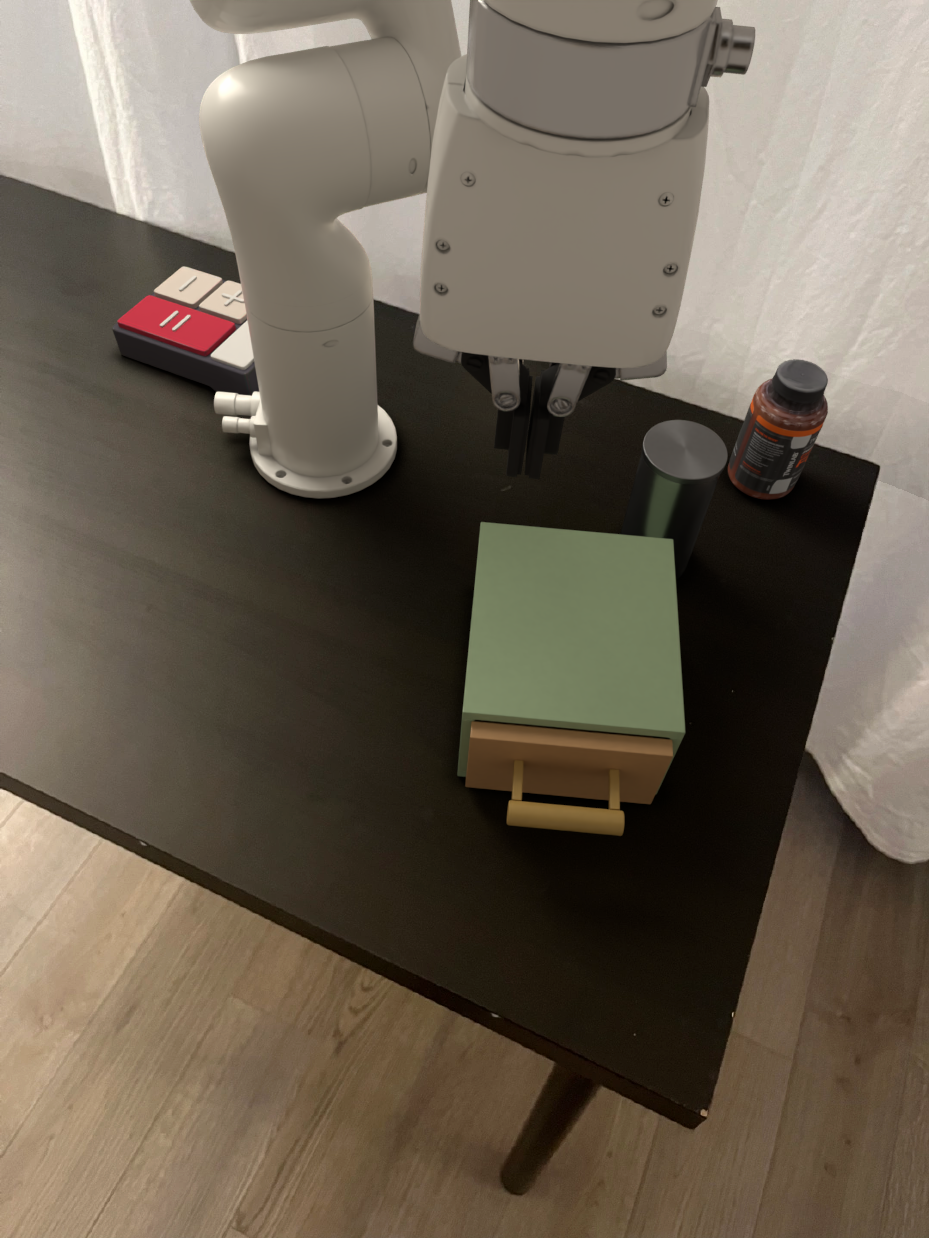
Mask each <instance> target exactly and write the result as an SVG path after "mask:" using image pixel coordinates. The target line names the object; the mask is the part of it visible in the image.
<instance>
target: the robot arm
mask: <svg viewBox="0 0 929 1238" xmlns="http://www.w3.org/2000/svg"><path fill="white" fill-rule="evenodd" d="M189 2H190V4H191V6H192V8H193V10H194V12H195V13H196V14H197V16H198V17H199V18H200V19H201V21H202V22H203V23H204V24H205V25H206V26H208V27H210V29H212V30H215V31H216V32H220V33H224V34H232V35H253V34H254V35H255V34H263V33H271V32H278V31H285V30H291V29H298V28H304V27H310V26H315V25H321V24H327V23H328V24H329V23H334V22H340V21H347V20H352V19H355V20H359V21H360V22H361V23H362V24H363V25H364V27H365V28H366V30H367V32H368V34H369V37H370V39H365V40H360V41H359V40H358V41H352V42H348V43H342V44H337V45H330V46H329V45H324V46H319V47H312V48H307V49H302V50H301V49H300V50H297V51H290V52H285V53H278V54H274V55H272V54H271V55H267V56H262V57H259V58H254V59H251V60H248V61H245V62H242V63H240V64H237V65H235V66H232V67H231V68H228V69H227V70H225V71H224V72H221V74H219V75H218V76H217V77H216V78H214V79H213V81H212V82H210V84H209V85H208V87H207V88H206V90H205V92H203V93H204V94H203V96H202V98H201V100H200V101H201V102H200V105H199V111H198V125H199V126H198V127H199V132H200V138H201V144H202V147H203V150H204V154H205V158H206V161H207V164H208V166H209V170H210V173H211V176H212V179H213V182H214V185H215V188H216V190H217V193H218V196H219V200H220V202H221V205H222V208H223V211H224V215H225V218H226V221H227V225H228V229H229V232H230V233H229V234H230V236H231V241H232V245H233V249H234V250H233V251H234V255H235V258H236V260H235V261H236V265H237V269H238V275H239V280H240V284H241V287H242V293H243V299H244V303H245V309H246V315H247V321H248V327H249V333H250V339H251V345H252V351H253V357H254V363H255V369H256V375H257V381H258V387H259V392H256V391H254V392H253V394H252V396H249V395H239V394H238V393H229V392H216V391H215V395H214V397H213V398H214V399H213V409H214V413H215V414H216V415H221V416H222V421H221V431H222V433H227V434H228V433H229V434H247V435H249V443H248V444H249V450H250V451H249V452H250V456H251V460H252V463H253V466H254V468H255V469H256V470H257V472H258V473H259V475H260V476H261V477H262V478H263V479H264V480H265V481H266V482H267V483H269V484H270V485H271V486H273V487H275V488H276V489H278V490H280V491H283V492H285V493H287V494H290V495H294V496H299V497H301V498H310V499H335V498H338V497H339V498H341V497H344V496H345V497H346V496H348V495H352V494H354V493H358V492H360V491H362V490H365V489H366V488H368V487H370V486H372V485H373V484H375V483H376V482H377V481H379V480H380V479H381V478H382V477H383V476H384V475H385V474H386V473H387V472H388V471H389V470H390V469H391V467H392V464H393V462H394V460H395V459H396V455H397V450H398V436H397V429H396V426H395V424H394V422H393V419H392V418H391V416H390V415H389V413H387V412H386V410H385V409H384V408H383V407H381V406H380V405H379V404H378V381H377V356H376V355H377V354H376V329H375V326H376V325H375V303H374V280H373V270H372V266H371V261H370V259H369V256H368V254H367V252H366V250H365V248H364V246H363V244H362V243H361V241H359V239H358V238H357V237H356V235H355V234H354V233H353V232H352V231H351V230H350V229H349V228H348V226H346V225H345V224H344V223H343V222H342V221H341V220H340V219H339V217H340V216H342V215H345V214H348V213H351V212H355V211H359V210H362V209H364V208H367V207H372V206H377V205H381V204H385V203H390V202H394V201H399V200H403V199H407V198H413V197H415V196H419V195H424V194H426V197H425V208H424V219H423V220H424V221H423V231H422V243H421V244H422V245H421V256H420V257H421V258H420V272H419V315H418V317H417V320H416V323H415V329H414V335H413V339H412V340H413V341H412V347H413V349H414V350H415V351H416V353H420V354H421V355H424V356H427V357H432V358H434V359H438V360H441V361H445V362H447V363H451V364H455V363H459V364H461V366H462V367H463V369H464V370H465V371H467V373H469V374H470V375H471V377H473V378H474V379H475V380H476V381H477V382H479V384H480V385H481V386H482V387H483V388H484V389H485V390H486V391H487V392H489V393H490V394H491V399H492V400H491V401H492V404H493V406H494V407H495V408H496V409H497V415H496V423H495V433H494V443H493V449H497V450H505V451H507V459H506V470H505V477H511V478H517V477H518V475H519V476H521V475H522V471H523V465H524V476H528V479H529V480H530V479H531V480H540V479H541V478H540V477H541V474H542V473H541V472H542V466H543V461H544V456H545V455H553V456H554V455H555V456H557V455H559V449H560V445H561V444H560V443H561V439H562V433H563V427H564V422H565V418H566V417H567V416H570V415H571V414H572V413H573V412H574V411H575V409H576V407H577V404H578V402H580V401H581V400H583V399H585V398H587V397H588V396H590V395H592V394H593V393H595V392H597V391H599V390H601V389H603V388H604V387H606V386H607V385H609V384H611V383H612V382H613V381H614V380H616V379H617V380H619V381H630V380H641V379H642V380H644V379H654V378H655V379H656V378H660V377H661V376H663V375H665V373H666V372H667V369H668V354H667V353H668V351H667V350H668V349H669V346H670V344H671V341H672V339H673V336H674V333H675V329H676V325H677V323H678V318H679V314H680V311H681V305H682V302H683V301H682V300H683V296H684V291H685V286H686V282H687V278H688V277H687V275H688V271H689V266H690V262H691V255H692V250H693V246H694V240H695V234H696V231H697V230H696V228H697V223H698V218H699V213H700V205H701V196H702V191H703V190H702V189H703V183H704V177H705V176H704V175H705V169H706V158H707V147H708V137H709V135H708V134H709V122H710V96H709V93H708V90H707V89H706V87H708V84H709V81H710V80H711V77H712V78H719V79H720V78H722V76H723V75H724V74H732V75H733V74H734V75H740V76H741V75H742V76H744V75H746V74H747V72H748V70H749V68H750V64H751V61H752V57H753V53H754V50H755V49H754V48H755V42H756V27H755V26H747V25H737V24H734V21H733V19H731V18H723V17H722V11H721V7H720V6H717V4H718V0H469V11H468V27H467V28H468V29H467V45H466V46H467V48H466V54H464V55H462V52H461V47H460V40H459V36H458V30H457V23H456V20H455V13H454V8H453V2H452V0H189ZM524 360H525V361H534V362H545V363H549V364H548V368H547V369H540V375H539V376H538V375H536V376H535V381H534V388H533V379H534V378H533V375H530V368H527V366H525V365H524ZM532 388H533V389H532ZM532 390H533V392H532ZM238 416H247V417H250V418H243V417H242V418H241V417H238ZM524 459H525V460H524ZM524 461H525V464H524Z"/></svg>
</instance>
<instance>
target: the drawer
mask: <svg viewBox="0 0 929 1238" xmlns="http://www.w3.org/2000/svg"><path fill="white" fill-rule="evenodd" d="M652 737H653V736H646V735H635V734H625V733H614V732H603V731H592V730H582V729H571V728H560V727H549V726H538V725H528V724H517V723H506V722H495V721H485V720H481V722H477V721H472V722H471V731H470V742H469V752H468V762H467V772H466V777H465V784H464V787H466V788H473V789H483V790H491V791H492V790H493V791H494V790H495V791H503V792H504V791H505V792H511V799H510V800H508V803H507V811H506V825H507V826H513V827H523V828H532V829H543V830H552V831H553V830H555V831H566V832H576V833H585V834H586V833H587V834H596V835H607V836H616V837H617V836H618V837H621V836H623V834H624V830H625V824H626V823H625V817H626V816H625V812H624V811H623V810H621V803H633V804H643V805H651V804H652V803H653V801H654V798H655V796H656V795H657V794H656V792H657V790H658V788H659V785H660V783H661V781H662V779H663V777H664V775H665V773H666V770H667V768H668V766H669V764H670V762H671V760H672V758H673V744H672V740H671V739H660V738H652ZM673 759H674V758H673ZM672 761H673V760H672ZM671 763H672V762H671ZM670 765H671V764H670ZM666 774H667V773H666ZM665 776H666V775H665ZM664 778H665V777H664ZM663 780H664V779H663ZM659 789H660V788H659ZM658 791H659V790H658ZM523 793H525V794H528V793H529V794H537V795H546V796H556V797H557V796H559V797H569V798H579V799H590V800H602V801H608V809H607V808H600V807H599V808H598V807H597V808H596V807H588V806H587V807H586V806H576V805H566V804H565V805H564V804H554V803H543V802H535V801H522V800H523ZM657 793H658V792H657ZM655 794H656V795H655Z"/></svg>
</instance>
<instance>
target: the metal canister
mask: <svg viewBox="0 0 929 1238" xmlns="http://www.w3.org/2000/svg"><path fill="white" fill-rule="evenodd" d="M727 462H728V449H727V446H726V444H725V442H724V441H723V439H722V438H721V436H719V435H718V434H717V433H716V432H715V431H714V430H712V429H711V428H709V427H707V426H705V425H703V424H700V423H699V422H695V421H691V420H685V419H672V420H665V421H663V422H659V423H657V424H655V425H654V426H652V427H651V428H649V430H648V431H647V432H646V434H645V435H644V438H643V441H642V445H641V454H640V457H639V461H638V465H637V469H636V473H635V475H634V476H635V477H634V479H633V483H632V487H631V491H630V495H629V498H628V502H627V506H626V510H625V514H624V517H623V522H622V526H621V529H620V533H619V534H620V535H631V536H642V537H653V538H664V539H673V544H674V560H675V576H676V581H677V580H678V579H680V578H681V577H682V576H683V574H684V573H685V572H686V570H687V567H688V565H689V561H690V559H691V556H692V553H693V550H694V547H695V545H696V542H697V539H698V538H699V534H700V531H701V529H702V525H703V523H704V520H705V517H706V515H707V512H708V509H709V507H710V503H711V501H712V498H713V496H714V493H715V491H716V488H717V485H718V482H719V480H720V476H721V474H722V473H723V471H724V469H725V467H726V464H727Z"/></svg>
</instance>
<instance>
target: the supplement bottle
mask: <svg viewBox="0 0 929 1238" xmlns="http://www.w3.org/2000/svg"><path fill="white" fill-rule="evenodd" d="M828 382H829V378H828V375H827V373H826V371H825V370H824V369H823V368H822V367H820V366H819V365H818V364H817V363H814V362H812V361H808V360H805V359H796V358H795V359H794V358H793V359H788V360H784V361H783V362H781V363H780V364H779V365H778V366H777V367H776V370H775V373H774V374H773V376H772V377H771V378H769V379H767V380H765V381H763V382H762V383H761V384H760V385H759V386H758V387H757V388H756V390H755V391H754V394H753V396H752V399H751V402H750V404H749V407H748V409H747V412H746V414H745V417H744V420H743V423H742V426H741V428H740V430H739V432H738V437H737V439H736V441H735V445H734V447H733V450H732V452H731V455H730V457H729V463H728V466H727V475H728V477H729V480H730V481H731V483H732V484H733V486H734V487H735V488H737V489H738V490H739V491H740V492H742V494H743V493H744V494H745V495H747V496H749V497H752V498H755V499H759V500H770V501H771V500H778V499H782V498H784V497H786V496H787V495H788V494H789V493H791V492H792V490H793V489H794V488H795V485H796V484H797V482H798V480H799V478H800V476H801V474H802V473H803V470H804V468H805V466H806V463H807V461H808V458H809V457H810V454H811V452H812V450H813V448H814V445H815V443H816V441H817V439H818V437H819V435H820V432H821V431H822V429H823V426H824V423H825V421H826V419H827V416H828V414H829V404H828V400H827V398H826V395H825V392H826V388H827V387H828V384H829V383H828Z"/></svg>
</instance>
